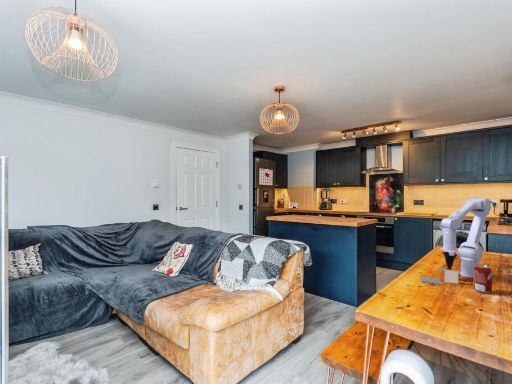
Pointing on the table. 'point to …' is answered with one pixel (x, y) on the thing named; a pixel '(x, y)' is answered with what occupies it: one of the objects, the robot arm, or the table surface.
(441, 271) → the grey bar
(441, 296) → the table surface
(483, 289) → the soda can
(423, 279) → the mat
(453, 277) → the tile
